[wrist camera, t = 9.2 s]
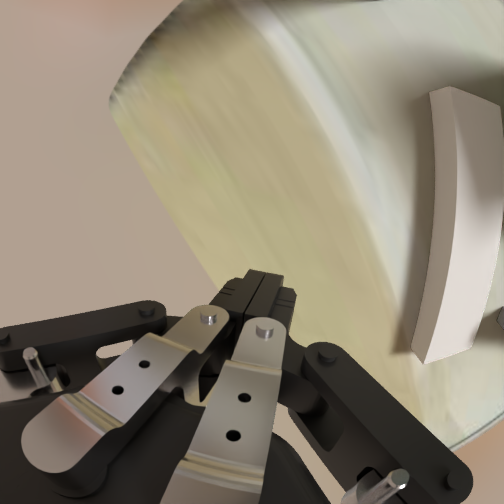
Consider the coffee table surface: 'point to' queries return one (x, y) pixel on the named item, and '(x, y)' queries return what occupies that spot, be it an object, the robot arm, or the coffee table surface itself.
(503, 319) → the end cap
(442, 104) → the decorative molding
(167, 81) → the coffee table surface
